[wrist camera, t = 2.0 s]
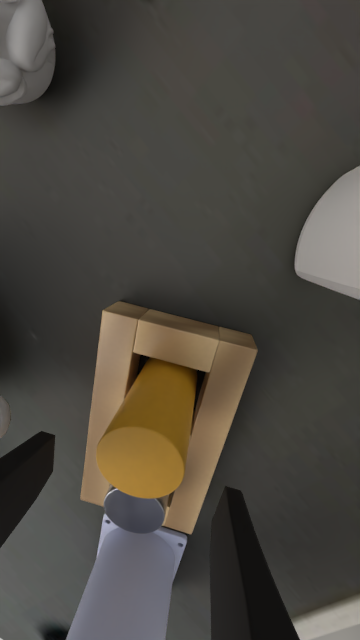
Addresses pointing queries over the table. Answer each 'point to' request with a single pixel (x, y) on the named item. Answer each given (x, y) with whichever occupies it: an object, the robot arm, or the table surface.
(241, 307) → the table surface
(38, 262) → the table surface
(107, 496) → the steel peg
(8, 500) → the robot arm
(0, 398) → the teacup
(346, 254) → the eye dropper bottle
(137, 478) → the yellow peg
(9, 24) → the frog figurine
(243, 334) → the peg stand
